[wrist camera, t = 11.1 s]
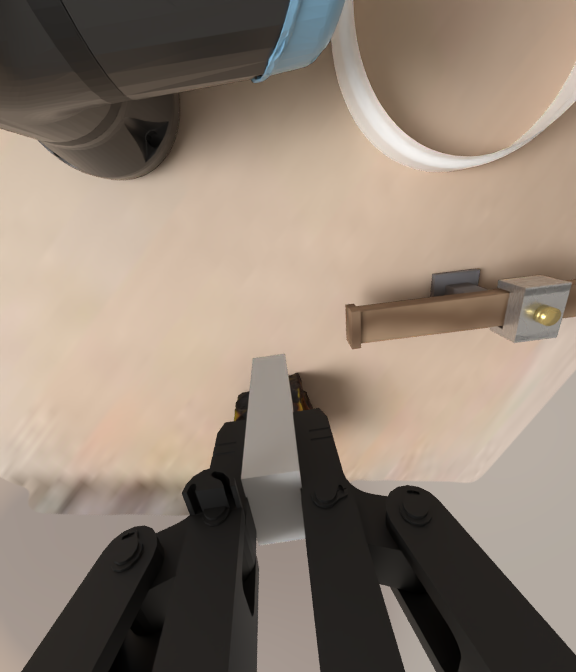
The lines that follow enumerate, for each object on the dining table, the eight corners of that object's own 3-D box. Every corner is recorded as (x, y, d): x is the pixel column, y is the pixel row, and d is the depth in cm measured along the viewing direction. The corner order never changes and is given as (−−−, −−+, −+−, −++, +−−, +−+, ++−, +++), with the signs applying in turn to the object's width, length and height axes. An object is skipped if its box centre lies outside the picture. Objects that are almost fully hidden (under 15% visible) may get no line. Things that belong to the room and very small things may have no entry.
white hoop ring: (650, -185, 25) (745, -284, 20) (543, 173, 36) (588, 167, 31) (339, -211, 24) (358, -325, 19) (323, 172, 34) (333, 165, 29)
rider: (498, 280, 35) (535, 290, 30) (539, 274, 35) (583, 285, 30) (489, 329, 37) (522, 347, 32) (528, 325, 37) (566, 341, 32)
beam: (336, 285, 39) (351, 301, 32) (570, 257, 40) (635, 266, 33) (338, 333, 42) (352, 358, 35) (557, 306, 42) (614, 325, 35)
